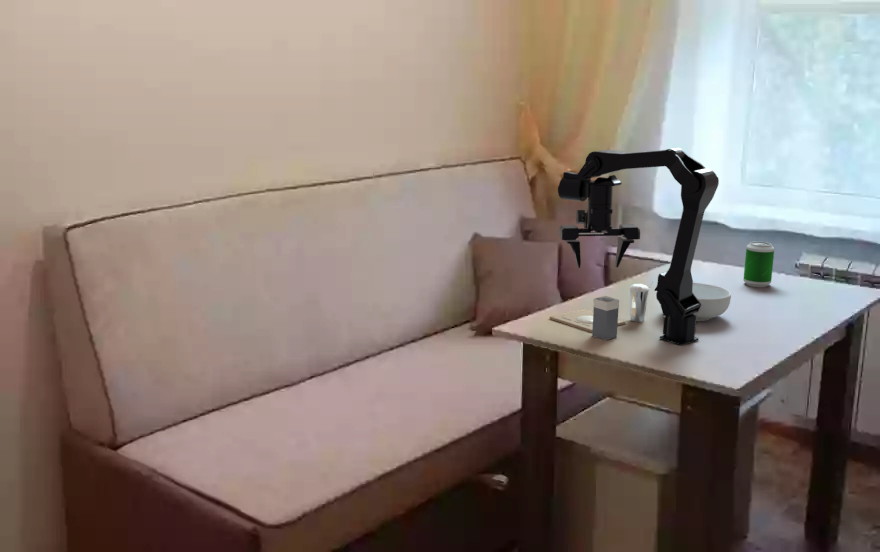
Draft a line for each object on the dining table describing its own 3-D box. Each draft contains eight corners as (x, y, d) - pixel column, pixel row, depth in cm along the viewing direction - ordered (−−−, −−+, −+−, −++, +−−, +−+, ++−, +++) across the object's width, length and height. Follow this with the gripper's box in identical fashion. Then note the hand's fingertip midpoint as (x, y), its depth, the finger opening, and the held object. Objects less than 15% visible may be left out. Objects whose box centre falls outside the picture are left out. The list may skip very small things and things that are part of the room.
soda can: (774, 288, 270) (778, 246, 267) (747, 287, 270) (751, 246, 267) (765, 281, 277) (769, 241, 275) (739, 281, 277) (743, 240, 275)
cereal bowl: (708, 330, 229) (711, 302, 227) (647, 317, 240) (649, 289, 238) (740, 316, 241) (743, 289, 240) (681, 304, 252) (683, 278, 250)
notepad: (625, 323, 234) (625, 321, 233) (591, 332, 226) (591, 329, 226) (583, 311, 244) (583, 308, 244) (549, 318, 237) (549, 316, 237)
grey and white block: (617, 337, 223) (619, 299, 221) (605, 340, 220) (607, 302, 218) (603, 332, 226) (605, 295, 224) (591, 335, 224) (593, 298, 221)
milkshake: (650, 323, 234) (652, 283, 232) (627, 322, 235) (630, 282, 233) (650, 318, 238) (652, 279, 236) (628, 317, 239) (630, 278, 237)
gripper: (630, 198, 237) (628, 260, 240) (555, 198, 236) (554, 260, 240) (642, 204, 226) (639, 269, 230) (563, 205, 225) (561, 270, 229)
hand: (597, 267), depth 232 cm, fingers open, 9 cm apart
